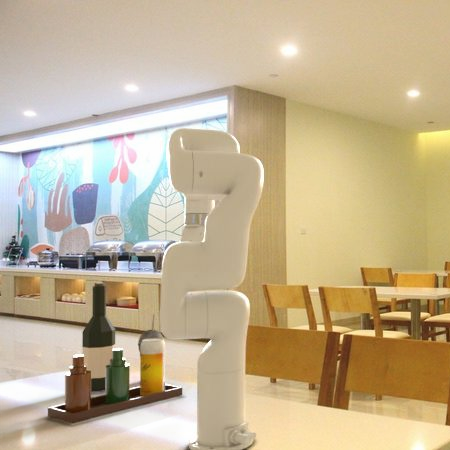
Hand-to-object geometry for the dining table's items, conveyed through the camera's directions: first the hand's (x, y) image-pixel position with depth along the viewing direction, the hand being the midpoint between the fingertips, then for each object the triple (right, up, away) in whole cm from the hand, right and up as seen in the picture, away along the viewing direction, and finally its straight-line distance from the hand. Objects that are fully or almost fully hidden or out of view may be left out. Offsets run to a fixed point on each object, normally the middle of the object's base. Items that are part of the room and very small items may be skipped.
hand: (199, 286), depth 159 cm
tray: (-18, -30, -6) cm, 35 cm away
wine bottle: (-32, -30, +12) cm, 46 cm away
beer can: (-13, -30, +2) cm, 32 cm away
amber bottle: (-24, -29, -14) cm, 40 cm away
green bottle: (-19, -29, -6) cm, 35 cm away
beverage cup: (-21, -31, +20) cm, 42 cm away
